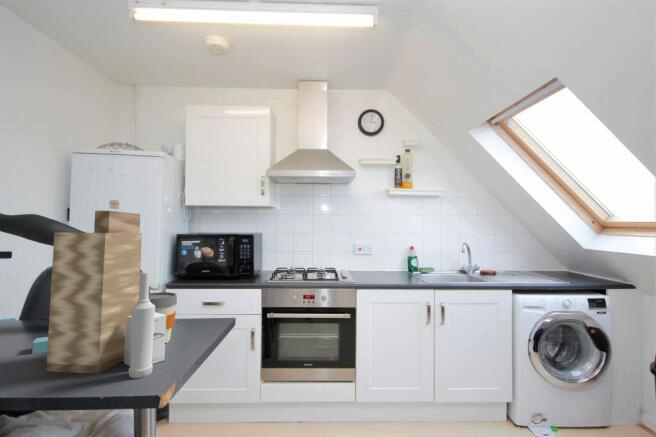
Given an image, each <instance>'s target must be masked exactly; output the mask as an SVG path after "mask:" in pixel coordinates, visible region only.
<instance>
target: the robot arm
mask: <svg viewBox="0 0 656 437" xmlns="http://www.w3.org/2000/svg"><path fill="white" fill-rule="evenodd" d="M0 232H2V233H5V234H9V235H12V236H16V237H19V238H23V239H25V240H29V241H32V242H36V243H38V244H43V245H47V246H51V247H54V232H63V233H87V232H86V231H83V230H80V229H78V228H76V227H73V226H72V225H69V224H67V223H63V222H61V221H58V220H56V219H53V218H49V217H46V216H44V215H40V214H36V213H24V214H23V213H20V214H7V213H1V212H0ZM12 258H13V252H12V251H11V250H8V251H4V250H3V251H0V260H1V259H3V260H5V259H6V260H7V259H12Z"/></svg>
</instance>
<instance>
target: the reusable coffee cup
mask: <svg viewBox="0 0 656 437" xmlns="http://www.w3.org/2000/svg"><path fill="white" fill-rule="evenodd" d="M177 296H178V295H177V293H175V292H170V291H169V292H168V291H167V292H163V291H162V292H161V291H160V292H149V295H148V299H150V302H151V303H152V304H153V305H155V312H156V313H161V314H165V315H166V336H165V343H167V342H168V341H169V340H170V341H171V334H172V330H173V327H174V325H175V320H176V315H177V311H176V306H177V303H178V298H177ZM139 297H140V294H139ZM170 341H169V342H170ZM167 344H168V343H167Z"/></svg>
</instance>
